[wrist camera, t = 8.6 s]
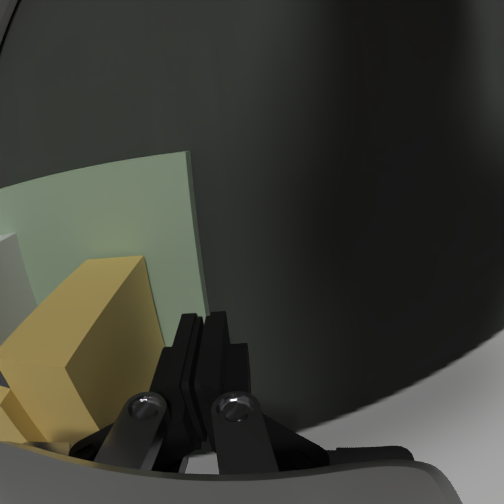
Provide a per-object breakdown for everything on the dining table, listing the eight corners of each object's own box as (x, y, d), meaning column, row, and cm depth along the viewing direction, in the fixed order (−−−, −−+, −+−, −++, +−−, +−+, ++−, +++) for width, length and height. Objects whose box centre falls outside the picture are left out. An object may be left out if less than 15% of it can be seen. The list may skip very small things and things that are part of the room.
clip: (143, 255, 13) (51, 389, 5) (166, 355, 15) (129, 495, 7) (34, 263, 13) (-69, 354, 5) (66, 351, 15) (3, 456, 7)
